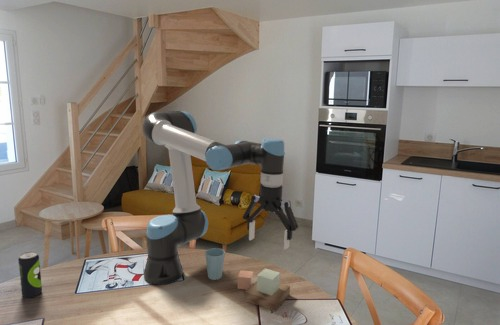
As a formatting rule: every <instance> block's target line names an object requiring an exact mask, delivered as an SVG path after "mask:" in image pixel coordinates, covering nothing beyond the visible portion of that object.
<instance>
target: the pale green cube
mask: <svg viewBox="0 0 500 325" xmlns="http://www.w3.org/2000/svg"><path fill="white" fill-rule="evenodd" d="M256 281H257V291H259V292H262V293H265V294H268V295H271V296H272V295H273V294H274V293H275V292H276V291H277V290H278V289H279V288H280V283H281V272H279V271H275V270H273V269H268V268H266V267H265V268H264V269H263V270H262V271H260V272H259V273H258V274H257V275H256Z"/></svg>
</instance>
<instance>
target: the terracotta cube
mask: <svg viewBox="0 0 500 325" xmlns="http://www.w3.org/2000/svg"><path fill="white" fill-rule="evenodd" d="M253 284H254V271H251V270H250V271H249V270H248V271H247V270H241V269H240V271H239V273H238V275H237V289H238V290H245V291H246V290H247V289H249V288H250V287H251V286H252V285H253Z"/></svg>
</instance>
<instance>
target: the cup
mask: <svg viewBox="0 0 500 325" xmlns="http://www.w3.org/2000/svg"><path fill="white" fill-rule="evenodd" d="M204 254H205V262H206V269H207V270H206V272H207V277H208V279H210V280H212V281H215V280H216V279H217V280H220V279H222V277H223V271H224V270H223V269H224V263H225V254H226V252H225V250H224V249H223V248H218V247H217V248H216V247H212V248H208V249H206V251H205V253H204Z"/></svg>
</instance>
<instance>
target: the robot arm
mask: <svg viewBox="0 0 500 325" xmlns="http://www.w3.org/2000/svg"><path fill="white" fill-rule="evenodd" d="M141 125H142V127H141V129H142V134H143V135H144V137H145V138H146V139H147V140H148V141H149V142H151V143H153V144H155V145H158V146H164V147H165V148H166V149H167V150H168V157H169V165H170V172H171V179H172V180H171V181H172V187H173V188H172V189H173V196H174V203H175V204H174V205H175V207H174V208H173V210H172V214H164V215H158V216H155V217H153V218H151V219H150V220H149V221H148V223H147V226H146V239H147V240H146V241H147V260H146V261H145V262H146V263H145V266H144V269H143V278H144V281H145V282H147V283H150V284H153V285H167V284H171V283H175V282H176V281H178V280H180V279H181V278H182V277H183V273H184V272H183V265H182V264H181V260H180V257H179V247H180V246H183V245H185V244H187V243H190V242H192V241H196V240H198V239H200V238H201V237H203V236H204V235H205V234H206V233H207V231H208V228H209V220H208V216H207V214H206V212H204V211H203V210H202V208H201V206H200V205H198V203H197V199H196V198H197V197H196V190H195V181H194V173H193V166H192V158H191V156H192V157H194V158H196V159H199V160H202V161H204V162H205V163H206V165H207V166H208V167H209V168H210V169H211V170H212V171H224V170H226V169H227V170H228V169H232V168H235V167H240V166H243V165H244V166H245V165H249V164H250V165H255V166H256V165H257V166H260V185H259V194H260V196H259V195H258V193H257V194H254V195H252V196H251V199H250V203H249V204H248V206H247V208H246V210H245V212H244V214H243V215H242V219H243V220H245V221H246V222H247V226H246V227H247V231H248V240H249V241H252V240H253V239H255V233H256V231H255V230H256V220H254V219H255V218H257V217H258V215H259V214H261V212H262V211H265V212H270V213H275V215H276V216H277V217H278V218H279V220H280V221H281V223H282V225H283V226H284V228H285V230H284V235H283V236H284V238H283V250H287V249H288V248H289V247H290V240H292V238H293V232H295V231H296V230H298V228H299V226H298V225H299V224H298V222H297V220H296V216H295V215H294V212H293V210H292V206H291V201H290V200H287V201H284V200H282V198H283V186H282V185H283V184H284V183H283V182H284V165H285V164H284V160H285V154H286V152H285V142H284V140H282V139H280V138H271V137H270V138H268V137H267V138H263V139H262V141H261V143H260V142H254V141H248V140H237V141H235V143H232V144H224V143H222V142H219V141H216V140H213V139H211V138H208V137H205V136H202V135H199V134H197V130H198V125H197V122H196V119H195V118H194V116H193V115H192V114H191V113H189V112H188V111H184V110H183V111H181V110H174V111H173V110H172V111H155V112H151V113H150V114H148V115H147V116H146V117H145V118H144V120H143V122H142V124H141ZM258 202H259V203H260V205H259V206H258V207H257V209H255V211H254V212H253V210H254V208H255V206H256V204H257V203H258ZM281 206H282V207H283V208H284V210H283V208H282V207H281ZM284 211H285V212H284ZM252 212H253V213H252Z"/></svg>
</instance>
